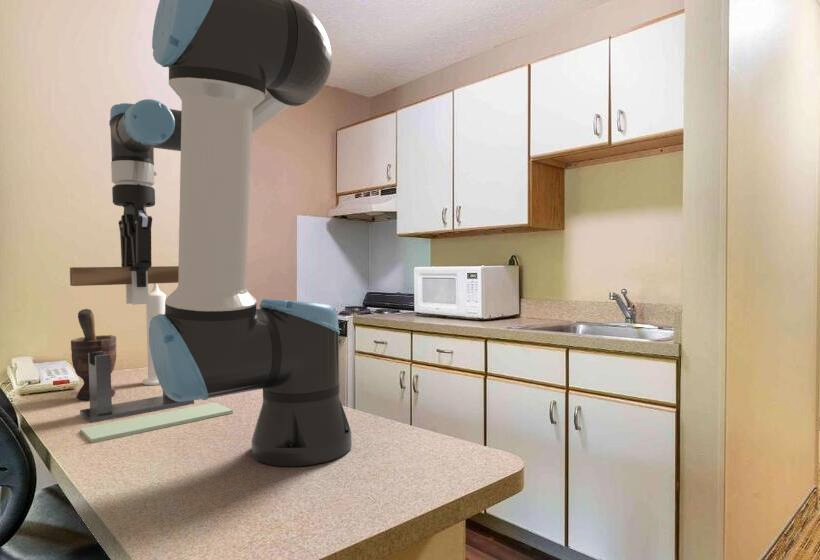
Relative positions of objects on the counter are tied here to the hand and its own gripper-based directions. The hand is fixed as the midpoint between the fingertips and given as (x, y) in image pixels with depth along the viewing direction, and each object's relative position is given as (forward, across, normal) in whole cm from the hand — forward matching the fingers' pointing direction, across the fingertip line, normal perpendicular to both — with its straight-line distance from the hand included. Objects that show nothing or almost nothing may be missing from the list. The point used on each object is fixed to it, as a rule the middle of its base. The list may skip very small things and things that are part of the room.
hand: (137, 303), depth 105 cm
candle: (+21, +24, -11) cm, 34 cm away
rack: (+21, +1, 0) cm, 21 cm away
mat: (+21, -12, 0) cm, 25 cm away
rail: (-4, 0, 0) cm, 4 cm away
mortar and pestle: (+21, +17, +4) cm, 28 cm away
